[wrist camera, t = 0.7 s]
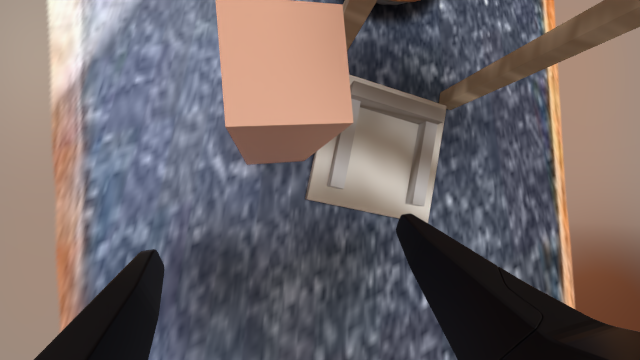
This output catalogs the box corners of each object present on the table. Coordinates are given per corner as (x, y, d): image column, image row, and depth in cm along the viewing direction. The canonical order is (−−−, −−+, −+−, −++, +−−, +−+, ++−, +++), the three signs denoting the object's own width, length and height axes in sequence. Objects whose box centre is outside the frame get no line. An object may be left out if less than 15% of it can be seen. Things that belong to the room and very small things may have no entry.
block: (303, 161, 23) (353, 122, 10) (247, 164, 22) (225, 126, 9) (299, 106, 23) (342, 4, 11) (242, 107, 22) (215, -6, 10)
